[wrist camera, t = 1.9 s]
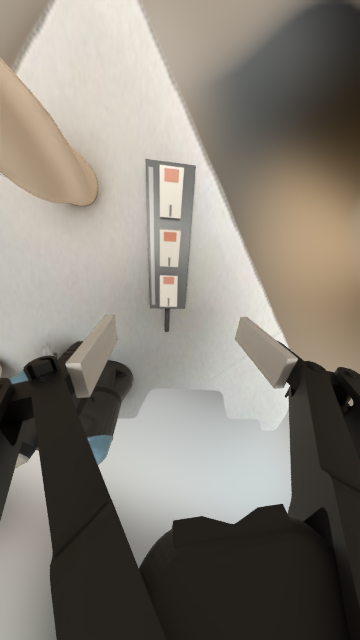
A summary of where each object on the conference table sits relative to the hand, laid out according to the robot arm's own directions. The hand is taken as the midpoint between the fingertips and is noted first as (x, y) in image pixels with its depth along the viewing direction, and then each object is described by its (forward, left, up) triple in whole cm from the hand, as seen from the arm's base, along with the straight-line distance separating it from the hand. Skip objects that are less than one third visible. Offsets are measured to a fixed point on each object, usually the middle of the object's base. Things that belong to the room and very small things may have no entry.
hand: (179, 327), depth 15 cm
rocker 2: (0, +7, -21) cm, 22 cm away
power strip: (0, +3, -27) cm, 27 cm away
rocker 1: (0, +16, -21) cm, 27 cm away
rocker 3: (0, -2, -21) cm, 21 cm away
